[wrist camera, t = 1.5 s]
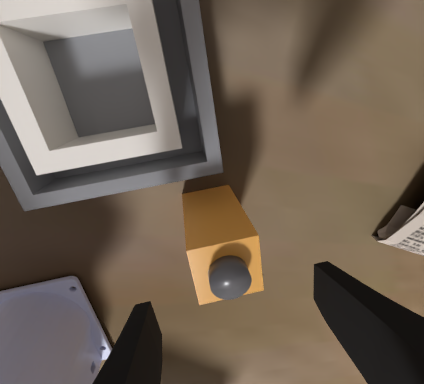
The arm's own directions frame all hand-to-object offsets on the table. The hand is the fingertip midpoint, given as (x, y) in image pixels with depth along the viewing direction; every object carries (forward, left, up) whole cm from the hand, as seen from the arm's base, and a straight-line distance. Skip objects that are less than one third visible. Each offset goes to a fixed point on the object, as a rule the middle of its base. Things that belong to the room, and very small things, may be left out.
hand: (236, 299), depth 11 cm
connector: (0, 0, -9) cm, 9 cm away
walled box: (+9, +5, -9) cm, 14 cm away
